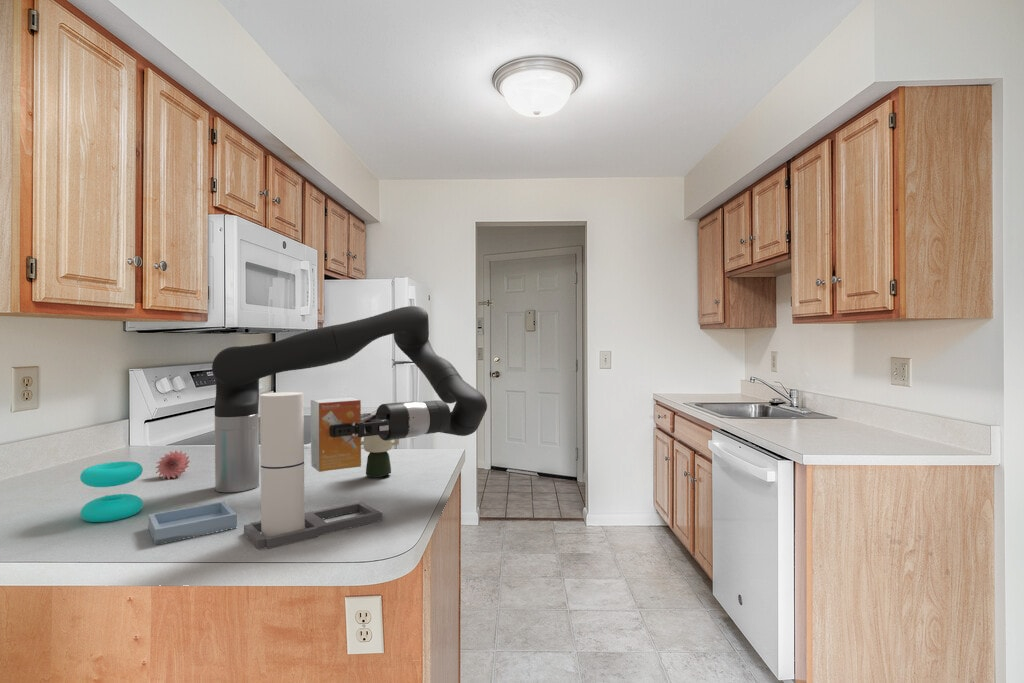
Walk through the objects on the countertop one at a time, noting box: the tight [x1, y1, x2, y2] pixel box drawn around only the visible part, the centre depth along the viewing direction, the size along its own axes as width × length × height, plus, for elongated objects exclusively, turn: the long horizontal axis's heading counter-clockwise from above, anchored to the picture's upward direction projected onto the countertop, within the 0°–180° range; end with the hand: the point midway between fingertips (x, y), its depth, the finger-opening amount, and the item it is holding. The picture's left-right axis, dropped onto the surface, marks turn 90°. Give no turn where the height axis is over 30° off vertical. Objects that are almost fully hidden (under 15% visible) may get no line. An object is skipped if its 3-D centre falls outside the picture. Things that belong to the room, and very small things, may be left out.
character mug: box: [361, 435, 400, 478], centre depth 137 cm, size 11×7×13 cm, turn 82°
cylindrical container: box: [259, 391, 306, 538], centre depth 97 cm, size 7×7×25 cm
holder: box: [243, 501, 383, 550], centre depth 100 cm, size 11×22×2 cm, turn 129°
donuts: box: [79, 461, 144, 523], centre depth 108 cm, size 10×10×10 cm
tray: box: [147, 500, 238, 546], centre depth 100 cm, size 11×13×3 cm
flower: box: [155, 449, 191, 481], centre depth 139 cm, size 8×8×6 cm
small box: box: [310, 396, 362, 473], centre depth 105 cm, size 8×6×13 cm
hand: (323, 428), depth 103 cm, fingers closed on small box, 6 cm apart
